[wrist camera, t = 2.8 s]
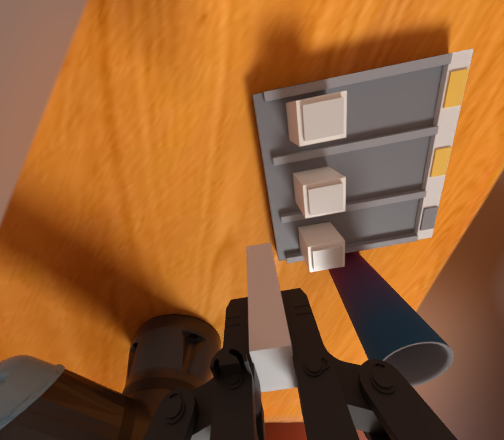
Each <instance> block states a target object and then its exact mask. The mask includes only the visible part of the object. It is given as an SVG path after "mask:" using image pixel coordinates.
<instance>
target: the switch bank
mask: <svg viewBox="0 0 504 440" xmlns="http://www.w3.org/2000/svg"><path fill="white" fill-rule="evenodd" d="M473 49H474V48H473ZM473 49H469V50H464V51H459V52H454V53H449V54H444V55H439V56H434V57H429V58H425V59H420V60H415V61H410V62H405V63H401V64H396V65H391V66H386V67H381V68H376V69H372V70H367V71H362V72H357V73H352V74H348V75H343V76H338V77H333V78H328V79H323V80H319V81H314V82H309V83H304V84H299V85H295V86H290V87H285V88H280V89H275V90H270V91H266V92H263V93H258V94H254V95H252V99H253V105H254V111H255V118H256V124H257V130H258V137H259V143H260V149H261V156H262V162H263V168H264V174H265V181H266V187H267V193H268V200H269V206H270V212H271V219H272V225H273V231H274V237H275V244H276V250H277V255H278V259H279V261H281V260H287V263H292V262H297V261H303V260H304V258H303V255H302V253H301V251H300V242H299V232H298V227H302V226H308V225H313V224H319V223H324V222H331V224H332V225H333V226H334V227H335V229H336V230H337V231H338V232H339V234H340V235H341V236H342V237H343V239H344V240H345V253H350V252H355V251H361V250H367V249H373V248H378V247H384V246H390V245H396V244H402V243H407V242H413V241H417V240H419V239H425V238H431V237H432V234H433V230H434V225H435V221H436V216H437V212H438V207H439V203H440V198H441V193H442V189H443V184H444V180H445V175H446V171H447V166H448V162H449V157H450V153H451V148H452V144H453V139H454V135H455V130H456V126H457V121H458V117H459V112H460V108H461V103H462V99H463V94H464V90H465V85H466V81H467V76H468V72H469V67H470V63H471V58H472V54H473ZM342 91H347V121H346V138H341V139H336V140H331V141H326V142H321V143H315V144H310V145H305V146H300V147H299V146H298V145H296V144H295V143H293V142H291V141H290V140H289V132H288V122H287V112H286V103H287V102H292V101H297V100H302V99H307V98H312V97H317V96H322V95H327V94H332V93H337V92H342ZM327 166H329V167H331V168H332V169H334V170H335V171H337V172H338V173H340V174H342V175H343V176H345V177H346V203H345V211H344V212H338V213H333V214H327V215H322V216H316V217H310V218H305V217H304V215H303V214H302V212H301V210H300V209H299V207H298V205H297V203H296V202H295V192H294V182H293V173H295V172H301V171H306V170H311V169H316V168H322V167H327Z"/></svg>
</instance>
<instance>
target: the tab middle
mask: <svg viewBox="0 0 504 440" xmlns="http://www.w3.org/2000/svg"><path fill="white" fill-rule="evenodd" d="M293 182H294V192H295V202H296V203H297V205H298V207H299V209H300V210H301V212H302V214H303V215H304V217H305V218H310V217H316V216H322V215H327V214H333V213H338V212H344V211H345V203H346V177H345V176H343V175H342V174H340V173H338V172H337V171H335V170H334V169H332V168H331V167H329V166H327V167H322V168H316V169H311V170H306V171H301V172H295V173H293Z"/></svg>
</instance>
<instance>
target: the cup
mask: <svg viewBox="0 0 504 440" xmlns="http://www.w3.org/2000/svg"><path fill="white" fill-rule="evenodd" d="M328 270H329V272H330V274H331V276H332V279H333V281H334V283H335V285H336V288H337V290H338V292H339V294H340V297H341V299H342V301H343V303H344V306H345V308H346V310H347V312H348V315H349V317H350V319H351V321H352V324H353V326H354V328H355V330H356V333H357V335H358V337H359V339H360V342H361V344H362V346H363V348H364V351H365V353H366V355H367V357H368V360H372V359H377V360H383V361H385V362H387V363H389V364H391V365H392V366H394V367H395V368H396V369H397V370H398V371H399V372H400V373H401V374H402V375H403V376H404V378H405V379H406V380H407V381H408V382H409V384H410V385H411V386H416V385H420V384H423V383H426V382H428V381H430V380H432V379H434V378H436V377H437V376H439V375H441V374H442V373H443V372H445V371H446V370H447V369H448V368H449V366H450V365H451V363H452V361H453V359H454V353H453V350H452V349H451V348H450V347H449V346H448V345H447V344H446V342H444V341H443V339H442V338H441V337H439V335H438V334H437V333H436V332H435V331H434V330H433V329H432V328H431V327H430V326H429V325H428V324H427V323H426V322H425V321H424V320H423V319H422V318H421V317H420V316H419V315H418V314H417V313H416V312H415V311H414V310H413V309H412V308H411V307H410V306H409V305H408V304H407V302H406V301H405V300H404V299H403V298H402V297H401V296H400V295H399V294H398V293H397V292H396V291H395V290H394V289H393V288H392V287H391V286H390V285H389V284H388V283H387V282H386V281H385V280H384V279H383V278H382V277H381V276H380V275H379V274H378V273H377V272H376V271H375V270H374V269H373V268H372V267H371V266H370V265H369V264H368V263H367V261H366V260H365V259H364V258H363V257H362V256H361V255H360V254H359V253H358V252H356V251H355V252H350V253H345V266H344V267H338V268H332V269H328Z"/></svg>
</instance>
